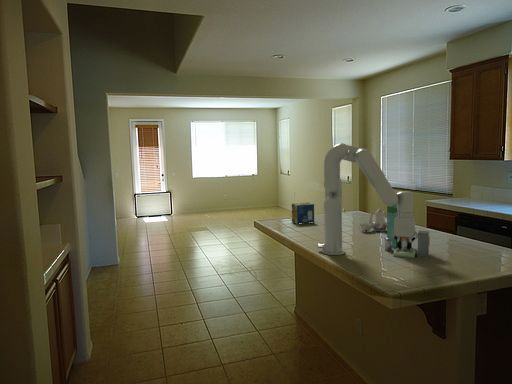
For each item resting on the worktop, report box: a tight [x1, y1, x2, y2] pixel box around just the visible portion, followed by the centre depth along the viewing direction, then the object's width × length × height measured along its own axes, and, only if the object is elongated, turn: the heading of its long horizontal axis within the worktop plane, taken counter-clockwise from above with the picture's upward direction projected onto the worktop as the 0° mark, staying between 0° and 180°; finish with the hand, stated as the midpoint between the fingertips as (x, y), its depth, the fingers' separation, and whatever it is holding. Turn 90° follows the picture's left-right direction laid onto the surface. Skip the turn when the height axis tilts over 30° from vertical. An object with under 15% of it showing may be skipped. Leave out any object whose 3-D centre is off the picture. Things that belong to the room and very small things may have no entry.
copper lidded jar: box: [400, 237, 409, 251], centre depth 200 cm, size 4×4×7 cm
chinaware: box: [358, 207, 387, 233], centre depth 262 cm, size 28×17×17 cm, turn 76°
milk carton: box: [386, 204, 401, 250], centre depth 218 cm, size 9×9×25 cm
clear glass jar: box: [384, 236, 393, 252], centre depth 211 cm, size 4×4×7 cm
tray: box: [393, 248, 417, 259], centre depth 201 cm, size 10×10×2 cm
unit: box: [417, 230, 431, 259], centre depth 197 cm, size 5×7×13 cm
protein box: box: [291, 202, 315, 225], centre depth 304 cm, size 10×15×16 cm
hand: (404, 248), depth 200 cm, fingers closed on copper lidded jar, 4 cm apart
